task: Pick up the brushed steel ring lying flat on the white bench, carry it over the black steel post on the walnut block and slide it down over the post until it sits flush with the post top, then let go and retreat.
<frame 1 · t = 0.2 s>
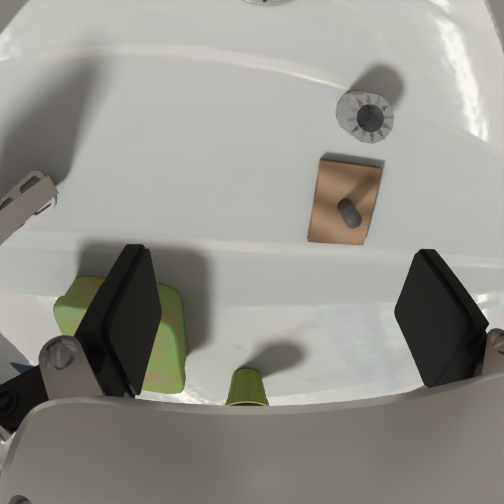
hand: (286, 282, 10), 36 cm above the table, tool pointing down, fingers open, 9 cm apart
first aid kit: (131, 321, 63), on the table
post block: (342, 203, 47), on the table
steel ring: (358, 113, 39), on the table
network device: (24, 204, 47), on the table
plant pot: (247, 374, 73), on the table
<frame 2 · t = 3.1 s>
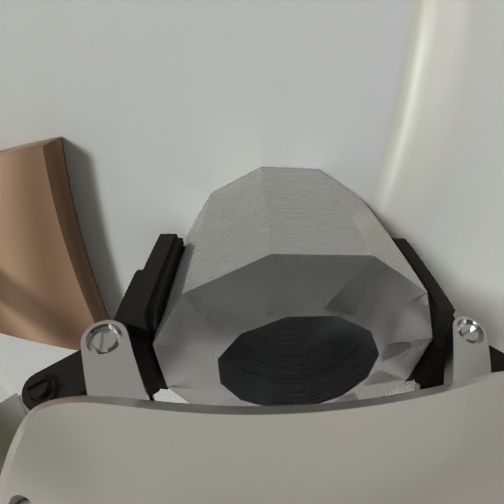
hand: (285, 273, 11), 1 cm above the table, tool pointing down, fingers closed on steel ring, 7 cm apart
steel ring: (283, 259, 11), on the table, touching gripper
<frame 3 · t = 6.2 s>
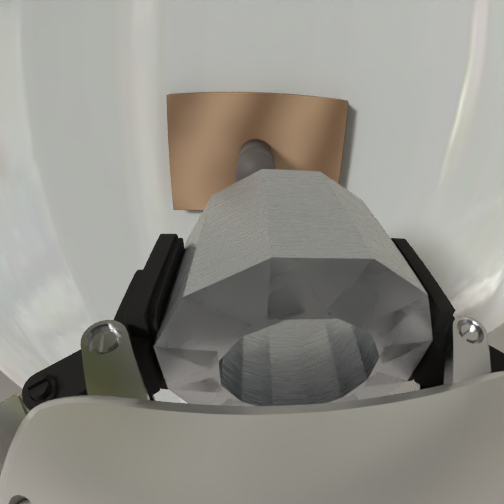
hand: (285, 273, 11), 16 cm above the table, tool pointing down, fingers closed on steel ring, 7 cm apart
post block: (255, 151, 24), on the table
steel ring: (284, 260, 11), point 15 cm above the table, touching gripper
when the fingers open (3 cm above the table, at t = 9.0 s): steel ring drops 1 cm, resting on post block.
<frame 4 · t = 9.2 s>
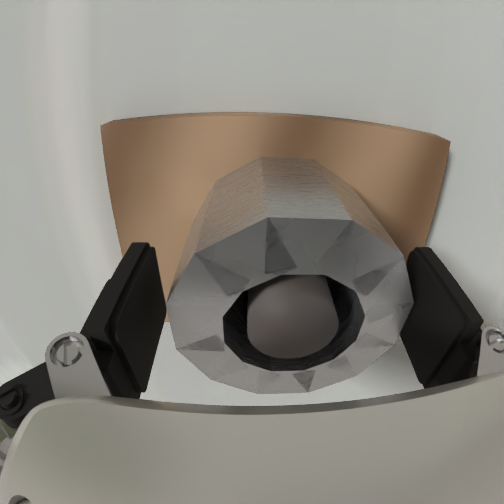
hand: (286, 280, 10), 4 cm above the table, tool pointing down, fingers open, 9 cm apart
post block: (277, 226, 14), on the table
steel ring: (280, 240, 13), point 1 cm above the table, touching post block
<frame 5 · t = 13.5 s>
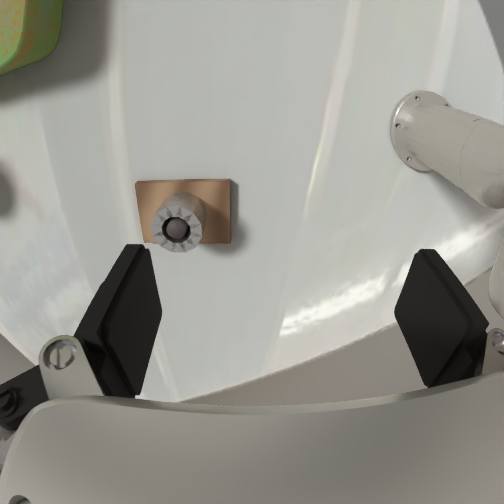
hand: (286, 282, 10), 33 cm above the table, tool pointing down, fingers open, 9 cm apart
first aid kit: (11, 10, 23), on the table
post block: (184, 210, 45), on the table
steel ring: (183, 214, 44), point 1 cm above the table, touching post block
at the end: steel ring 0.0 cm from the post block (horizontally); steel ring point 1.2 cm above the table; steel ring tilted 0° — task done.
